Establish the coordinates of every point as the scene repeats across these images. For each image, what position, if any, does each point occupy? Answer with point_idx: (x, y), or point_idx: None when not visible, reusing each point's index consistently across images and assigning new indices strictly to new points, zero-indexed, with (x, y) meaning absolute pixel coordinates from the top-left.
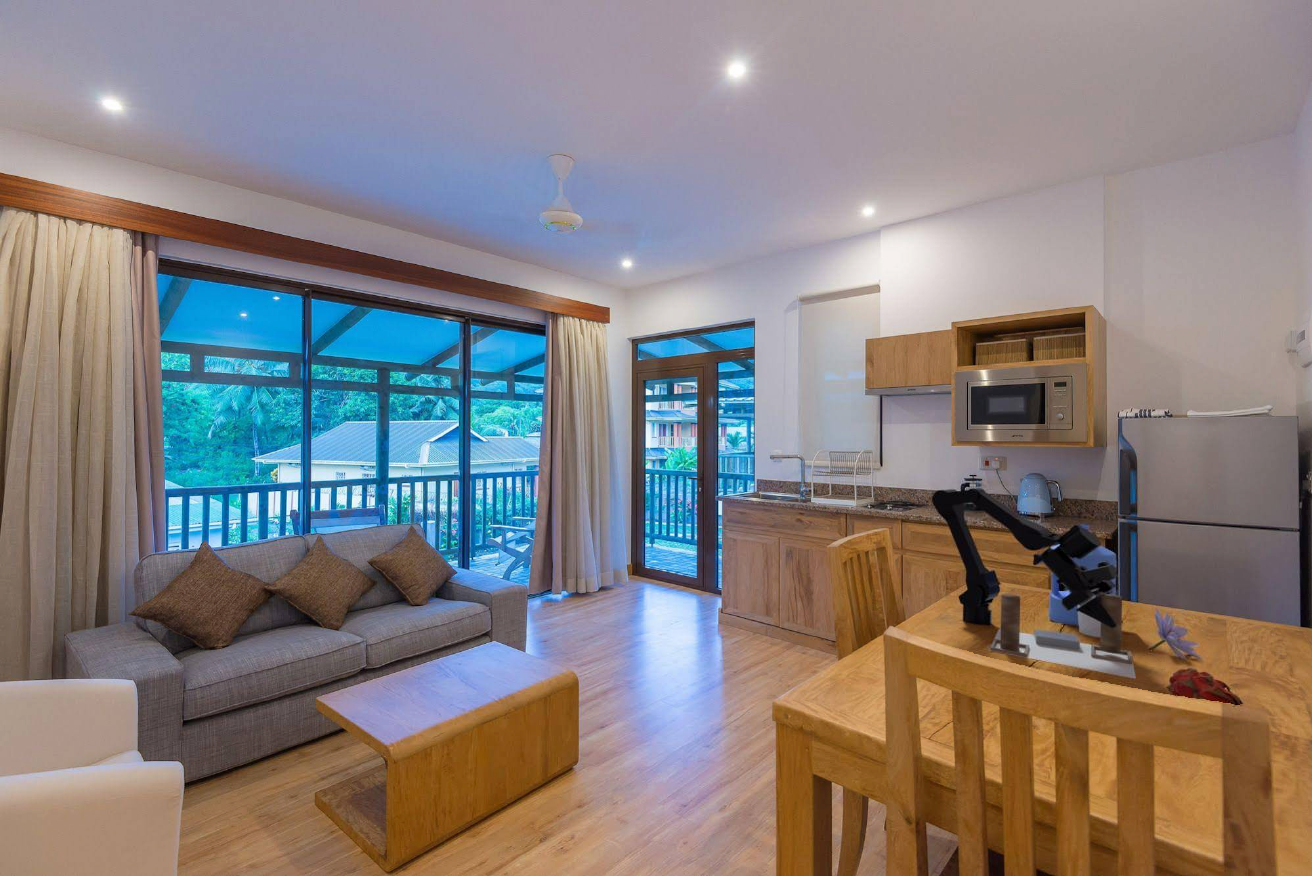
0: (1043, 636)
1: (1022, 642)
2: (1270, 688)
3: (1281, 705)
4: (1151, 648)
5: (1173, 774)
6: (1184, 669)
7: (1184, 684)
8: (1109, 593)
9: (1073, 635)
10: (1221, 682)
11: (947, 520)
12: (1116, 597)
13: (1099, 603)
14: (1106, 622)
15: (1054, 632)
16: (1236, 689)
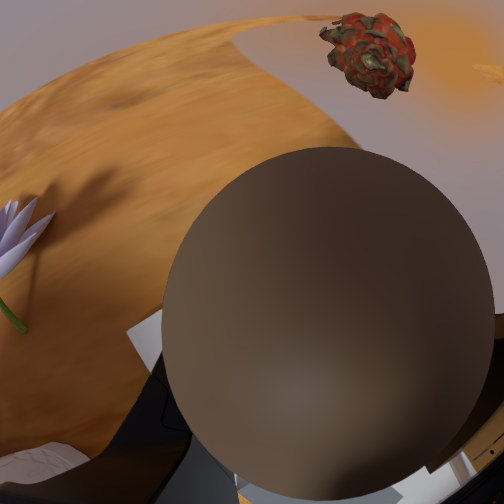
0: (389, 491)
1: (414, 494)
2: (89, 84)
3: (178, 43)
4: (20, 325)
5: (497, 82)
6: (388, 43)
7: (415, 53)
8: (131, 499)
9: (259, 488)
10: (358, 15)
11: None
12: (373, 210)
13: (498, 319)
14: None
15: None
16: (155, 89)
